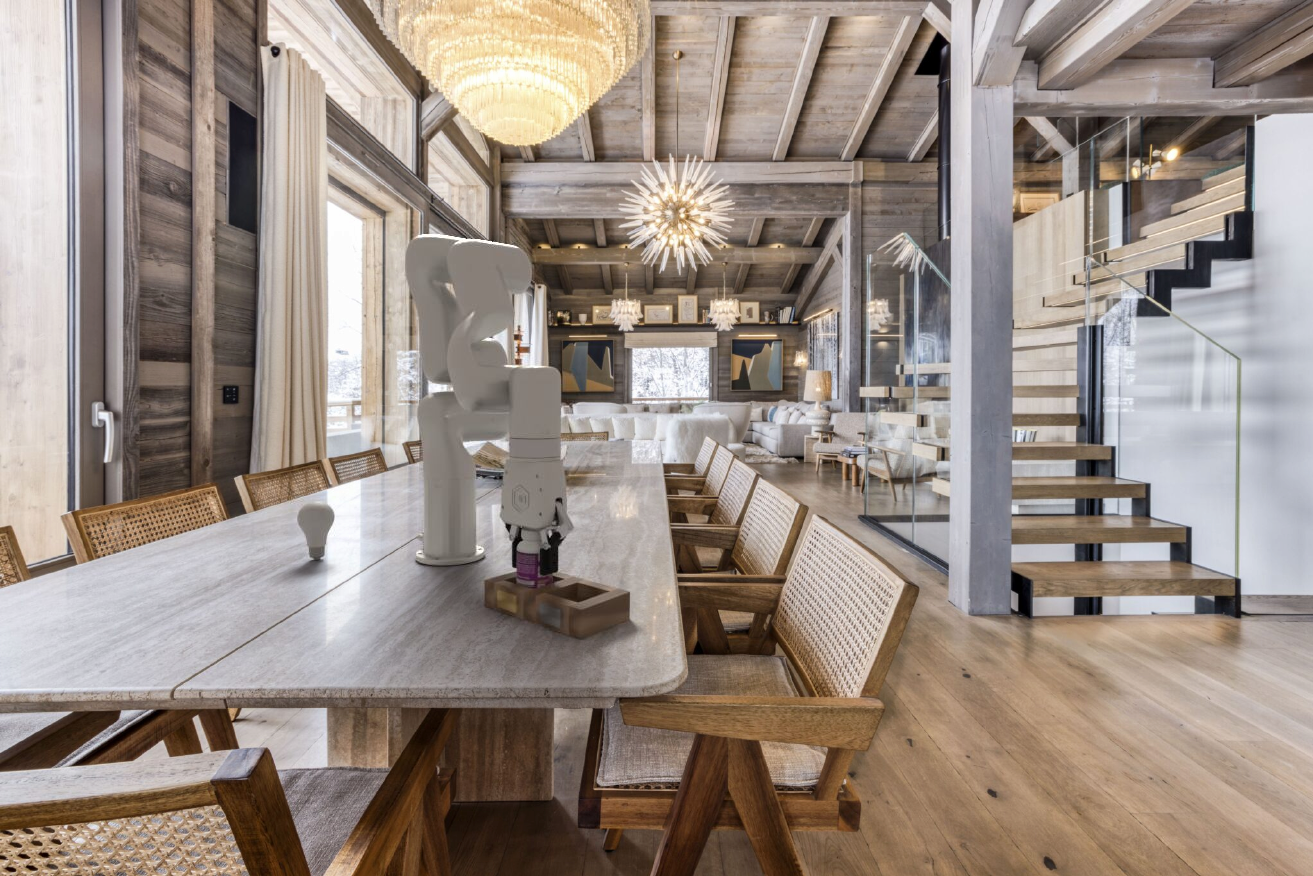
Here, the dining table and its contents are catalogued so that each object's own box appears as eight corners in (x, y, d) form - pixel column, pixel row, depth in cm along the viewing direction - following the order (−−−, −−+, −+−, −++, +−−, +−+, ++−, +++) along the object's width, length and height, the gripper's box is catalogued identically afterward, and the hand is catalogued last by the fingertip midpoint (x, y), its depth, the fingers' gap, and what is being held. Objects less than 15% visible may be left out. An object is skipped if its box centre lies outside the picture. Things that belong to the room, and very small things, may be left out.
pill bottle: (544, 598, 94) (545, 533, 93) (510, 595, 95) (510, 531, 95) (557, 587, 99) (558, 525, 99) (525, 585, 101) (525, 523, 100)
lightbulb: (324, 564, 117) (323, 504, 116) (291, 563, 117) (289, 503, 117) (341, 555, 123) (340, 498, 123) (309, 555, 124) (308, 498, 123)
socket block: (482, 606, 97) (482, 580, 96) (534, 590, 105) (534, 566, 105) (578, 640, 85) (579, 610, 84) (629, 618, 93) (630, 591, 93)
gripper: (478, 447, 98) (478, 565, 99) (557, 455, 88) (556, 587, 89) (516, 444, 104) (516, 555, 105) (595, 452, 94) (594, 575, 95)
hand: (534, 568), depth 97 cm, fingers closed on pill bottle, 5 cm apart
